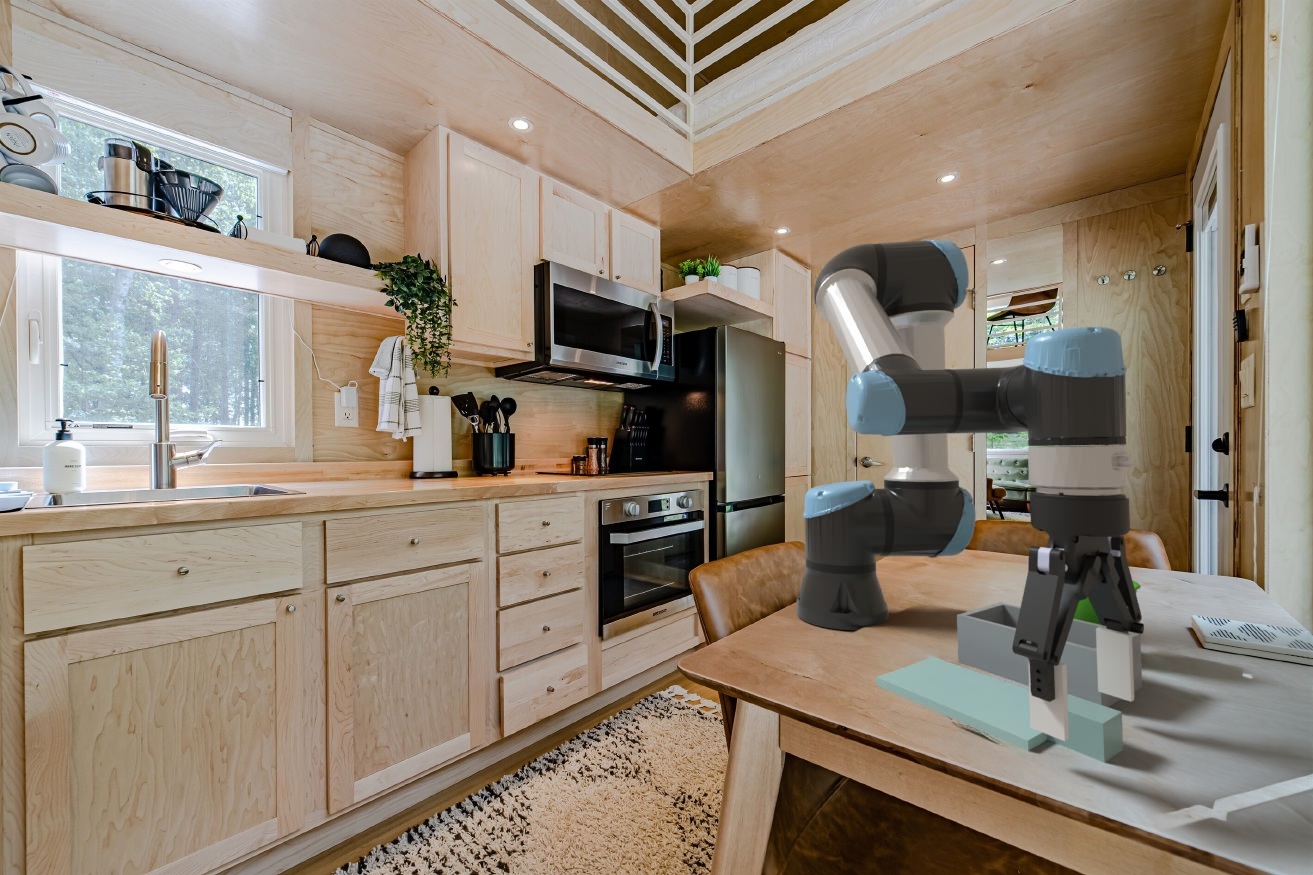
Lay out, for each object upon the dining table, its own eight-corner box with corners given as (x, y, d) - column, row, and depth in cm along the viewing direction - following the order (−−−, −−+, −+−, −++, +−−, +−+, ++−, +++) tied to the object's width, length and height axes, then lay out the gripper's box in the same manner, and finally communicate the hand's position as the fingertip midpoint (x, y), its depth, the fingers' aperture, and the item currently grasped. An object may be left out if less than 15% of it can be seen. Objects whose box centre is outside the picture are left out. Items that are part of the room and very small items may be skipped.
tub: (958, 667, 71) (956, 614, 71) (1001, 651, 76) (1000, 602, 77) (1101, 717, 58) (1099, 652, 58) (1142, 693, 63) (1140, 633, 63)
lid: (876, 693, 65) (875, 656, 65) (933, 672, 70) (932, 637, 70) (1085, 787, 46) (1083, 735, 46) (1139, 748, 52) (1137, 701, 52)
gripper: (1058, 502, 42) (1067, 775, 42) (1178, 486, 55) (1186, 696, 54) (963, 496, 49) (970, 731, 48) (1089, 482, 61) (1096, 670, 61)
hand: (1084, 713), depth 51 cm, fingers open, 13 cm apart
